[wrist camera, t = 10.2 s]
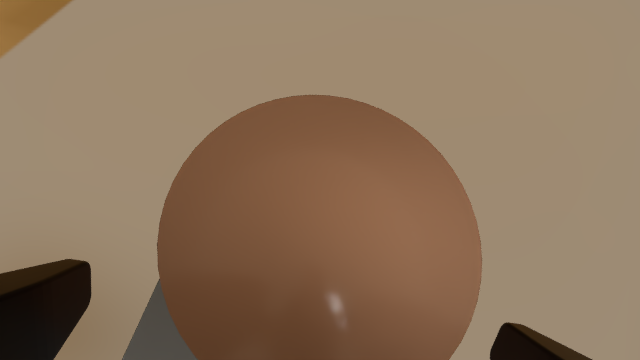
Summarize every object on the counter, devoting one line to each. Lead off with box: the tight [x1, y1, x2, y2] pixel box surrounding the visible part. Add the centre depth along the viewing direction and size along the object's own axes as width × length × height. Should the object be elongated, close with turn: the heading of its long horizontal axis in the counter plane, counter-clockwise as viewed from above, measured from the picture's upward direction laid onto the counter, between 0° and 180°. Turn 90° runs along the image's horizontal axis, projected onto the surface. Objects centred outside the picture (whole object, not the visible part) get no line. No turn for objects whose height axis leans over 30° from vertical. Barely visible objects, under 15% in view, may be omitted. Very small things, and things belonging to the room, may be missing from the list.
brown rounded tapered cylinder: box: [157, 95, 482, 360], centre depth 12 cm, size 5×5×12 cm
